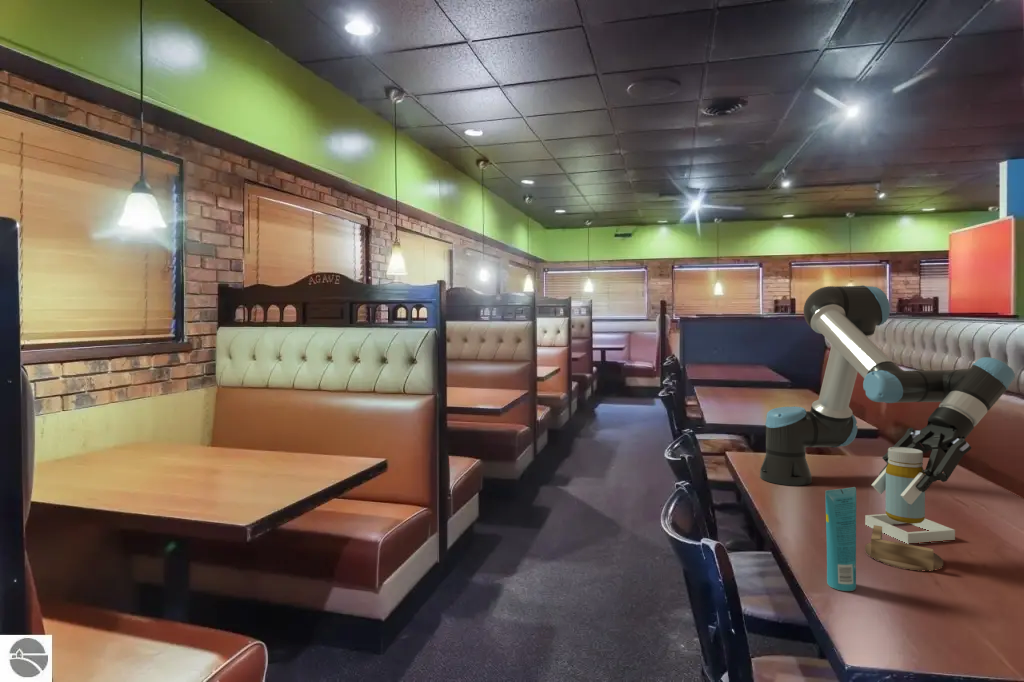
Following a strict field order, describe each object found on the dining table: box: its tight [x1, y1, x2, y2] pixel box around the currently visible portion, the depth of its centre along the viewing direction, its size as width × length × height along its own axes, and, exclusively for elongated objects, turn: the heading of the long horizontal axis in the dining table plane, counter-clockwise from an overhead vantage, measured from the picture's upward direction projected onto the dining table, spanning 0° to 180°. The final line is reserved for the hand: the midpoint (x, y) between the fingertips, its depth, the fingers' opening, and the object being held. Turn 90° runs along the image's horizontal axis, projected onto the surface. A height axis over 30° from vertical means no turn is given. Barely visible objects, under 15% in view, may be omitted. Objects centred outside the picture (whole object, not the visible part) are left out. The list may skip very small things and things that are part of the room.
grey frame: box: [864, 513, 956, 545], centre depth 136 cm, size 13×13×2 cm
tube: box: [824, 486, 857, 592], centre depth 109 cm, size 7×5×19 cm, turn 112°
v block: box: [864, 525, 944, 572], centre depth 122 cm, size 14×15×4 cm
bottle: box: [885, 446, 926, 524], centre depth 121 cm, size 7×7×15 cm
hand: (890, 494), depth 121 cm, fingers closed on bottle, 7 cm apart
